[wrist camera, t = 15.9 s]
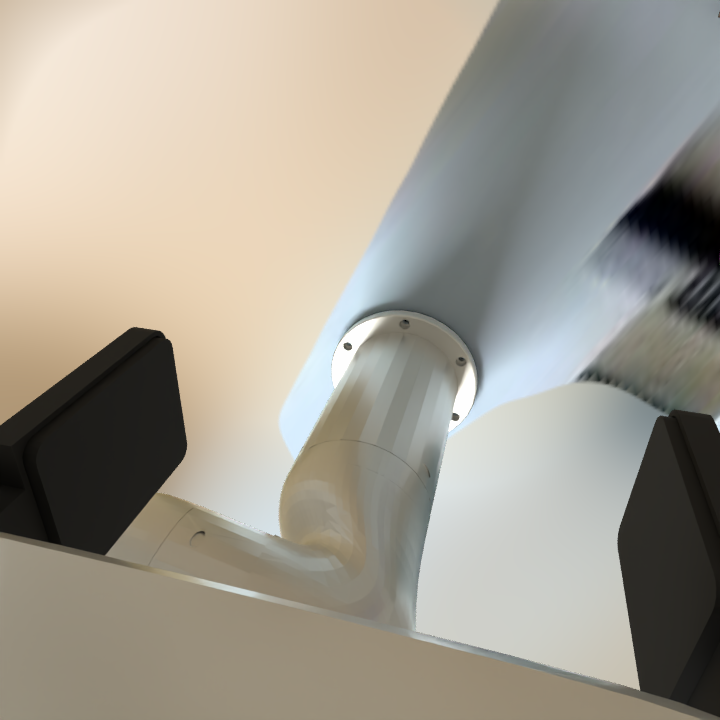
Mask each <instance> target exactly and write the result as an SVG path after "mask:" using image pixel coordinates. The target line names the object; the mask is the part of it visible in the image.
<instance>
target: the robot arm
mask: <svg viewBox="0 0 720 720" xmlns="http://www.w3.org/2000/svg"><path fill="white" fill-rule="evenodd" d="M404 320H408V321H409V322H405V321H404ZM350 343H351V344H350ZM460 357H462V358H464V359H461V358H460ZM332 380H333V384H334V391H333V392H332V394H331V396H330V398H329V400H328V402H327V403H326V405H325V407H324V409H323V411H322V413H321V414H320V416H319V418H318V420H317V422H316V423H315V425H314V427H313V429H312V431H311V433H310V434H309V436H308V438H307V440H306V442H305V444H304V445H303V447H302V449H301V451H300V453H299V455H298V456H297V458H296V460H295V462H294V464H293V466H292V468H291V470H290V472H289V473H288V475H287V477H286V480H285V482H284V485H283V488H282V492H281V496H280V500H279V526H280V534H281V537H279V536H276V535H274V536H273V535H270V534H268V533H265V532H263V531H261V530H258V529H256V528H253V527H251V526H248V525H246V524H243V523H241V522H239V521H236V520H233V519H231V518H228V517H226V516H224V515H222V514H219V513H217V512H214V511H212V510H209V509H207V508H204V507H202V506H199V505H196V504H194V503H191V502H189V501H186V500H184V499H180V498H178V497H175V496H172V495H168V494H164V493H158V492H157V491H158V490H159V489H160V487H161V486H162V485H163V484H164V482H165V481H166V480H167V479H168V477H169V476H170V475H171V474H172V472H173V471H174V470H175V469H176V468H177V466H178V465H179V464H180V463H181V461H182V460H183V458H184V456H185V454H186V450H187V440H186V433H185V427H184V420H183V413H182V407H181V401H180V394H179V387H178V380H177V374H176V367H175V360H174V354H173V347H172V343H171V342H170V340H168V339H166V338H165V336H164V334H163V333H162V332H161V331H157V330H151V329H144V328H137V327H133V328H131V329H129V330H127V331H126V332H125V333H123V334H122V335H121V336H119V337H118V338H117V339H115V340H114V341H113V342H111V343H110V344H109V345H107V346H106V347H105V348H103V349H102V350H101V351H99V352H98V353H97V354H95V355H94V356H93V357H91V358H90V359H89V360H87V361H86V362H85V363H83V364H82V365H81V366H79V367H78V368H77V369H75V370H74V371H73V372H71V373H70V374H69V375H67V376H66V377H65V378H63V379H62V380H60V381H59V382H58V383H57V384H55V385H54V386H53V387H51V388H50V389H49V390H47V391H46V392H44V393H43V394H42V395H41V396H39V397H38V398H36V399H35V400H34V401H33V402H31V403H30V404H28V405H27V406H26V407H24V408H23V409H22V410H20V411H19V412H18V413H16V414H15V415H14V416H12V417H11V418H10V419H8V420H7V421H6V422H4V423H3V424H2V425H0V720H720V433H719V430H718V428H717V426H716V424H715V422H714V419H713V418H712V416H711V415H707V414H701V413H694V412H688V411H681V410H673V411H671V413H670V414H669V416H668V417H666V416H659V417H658V418H657V420H656V422H655V425H654V428H653V431H652V434H651V437H650V439H649V442H648V445H647V448H646V451H645V454H644V457H643V460H642V463H641V466H640V469H639V472H638V475H637V478H636V480H635V484H634V486H633V489H632V492H631V495H630V498H629V501H628V504H627V507H626V510H625V513H624V516H623V519H622V522H621V525H620V528H619V533H618V553H619V559H620V565H621V571H622V577H623V584H624V590H625V596H626V603H627V609H628V616H629V622H630V628H631V634H632V641H633V647H634V653H635V660H636V666H637V672H638V679H639V685H640V691H639V690H636V689H633V688H630V687H626V686H623V685H620V684H616V683H612V682H609V681H605V680H601V679H597V678H593V677H590V676H586V675H582V674H579V673H575V672H571V671H567V670H564V669H560V668H556V667H552V666H549V665H545V664H541V663H537V662H534V661H530V660H526V659H522V658H519V657H515V656H511V655H507V654H503V653H499V652H495V651H491V650H487V649H483V648H479V647H475V646H471V645H467V644H463V643H459V642H455V641H451V640H447V639H443V638H439V637H435V636H431V635H427V634H423V633H419V632H416V600H417V589H418V579H419V572H420V565H421V559H422V554H423V549H424V543H425V538H426V534H427V529H428V524H429V520H430V514H431V510H432V505H433V500H434V496H435V491H436V487H437V482H438V478H439V473H440V468H441V464H442V459H443V454H444V450H445V445H446V441H447V436H448V432H449V431H451V430H453V429H454V428H455V427H456V426H458V425H459V424H460V423H461V422H462V421H463V420H464V419H465V417H466V416H467V415H468V414H469V412H470V410H471V408H472V406H473V404H474V400H475V396H476V392H477V383H478V379H477V369H476V366H475V363H474V360H473V356H472V355H471V353H470V351H469V349H468V348H467V346H466V344H465V343H464V342H463V341H462V340H461V339H460V337H459V336H458V335H457V334H456V333H455V332H453V331H452V330H451V329H450V328H448V327H447V326H446V325H445V324H443V323H441V322H439V321H437V320H435V319H434V318H432V317H429V316H426V315H423V314H420V313H416V312H410V311H404V310H399V311H385V312H380V313H375V314H373V315H370V316H368V317H365V318H363V319H362V320H360V321H359V322H357V323H356V324H354V325H353V326H352V327H351V328H350V329H349V330H348V331H347V332H346V333H345V334H344V336H343V337H342V339H341V340H340V342H339V344H338V346H337V348H336V350H335V352H334V355H333V360H332Z"/></svg>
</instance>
